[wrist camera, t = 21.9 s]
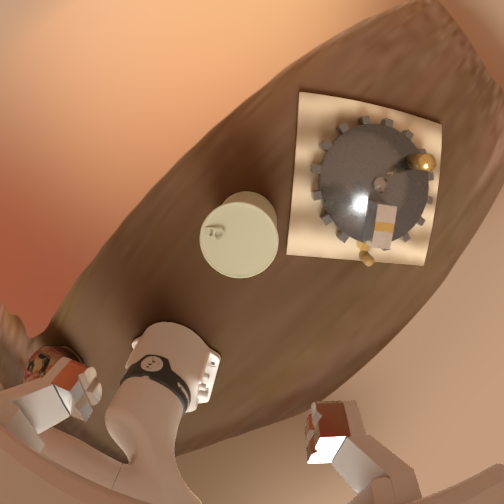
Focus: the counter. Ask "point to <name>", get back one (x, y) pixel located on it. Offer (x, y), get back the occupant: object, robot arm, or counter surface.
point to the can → (240, 235)
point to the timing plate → (302, 205)
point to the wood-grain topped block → (379, 224)
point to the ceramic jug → (47, 361)
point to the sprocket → (372, 178)
